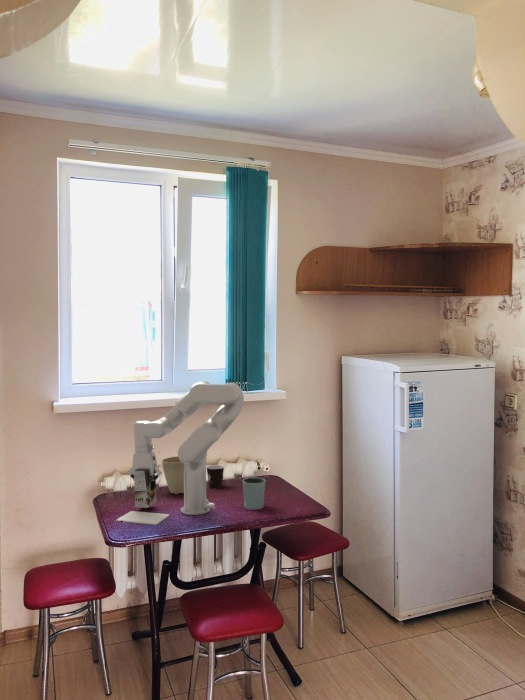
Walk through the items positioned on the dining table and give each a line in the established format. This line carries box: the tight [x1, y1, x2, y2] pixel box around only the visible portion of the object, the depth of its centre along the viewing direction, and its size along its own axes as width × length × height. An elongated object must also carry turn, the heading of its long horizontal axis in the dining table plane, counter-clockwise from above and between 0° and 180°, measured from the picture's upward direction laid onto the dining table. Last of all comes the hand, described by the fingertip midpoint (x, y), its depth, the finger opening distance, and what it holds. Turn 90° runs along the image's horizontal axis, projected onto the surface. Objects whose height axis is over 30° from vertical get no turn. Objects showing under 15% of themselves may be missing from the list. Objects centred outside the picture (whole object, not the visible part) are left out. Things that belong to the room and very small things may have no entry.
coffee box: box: [133, 469, 157, 509], centre depth 252 cm, size 9×6×16 cm
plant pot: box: [161, 455, 184, 495], centre depth 279 cm, size 15×15×16 cm
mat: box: [116, 510, 170, 526], centre depth 239 cm, size 18×12×1 cm, turn 74°
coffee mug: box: [206, 464, 225, 489], centre depth 286 cm, size 12×9×10 cm
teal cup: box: [242, 476, 266, 511], centre depth 254 cm, size 10×10×12 cm
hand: (145, 489), depth 252 cm, fingers closed on coffee box, 6 cm apart
